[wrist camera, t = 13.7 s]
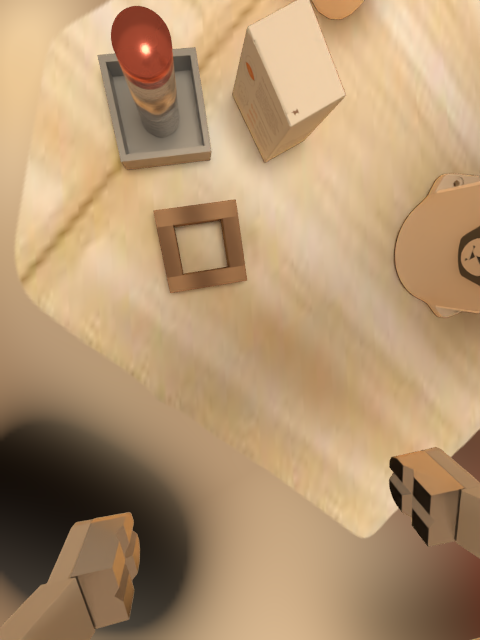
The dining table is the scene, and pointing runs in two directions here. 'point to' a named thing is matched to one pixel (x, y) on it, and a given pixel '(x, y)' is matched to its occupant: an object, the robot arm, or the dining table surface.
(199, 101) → the tray
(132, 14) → the red-lidded jar
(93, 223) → the dining table surface
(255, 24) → the small box
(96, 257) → the dining table surface
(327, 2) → the foam cup
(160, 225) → the wooden square frame
